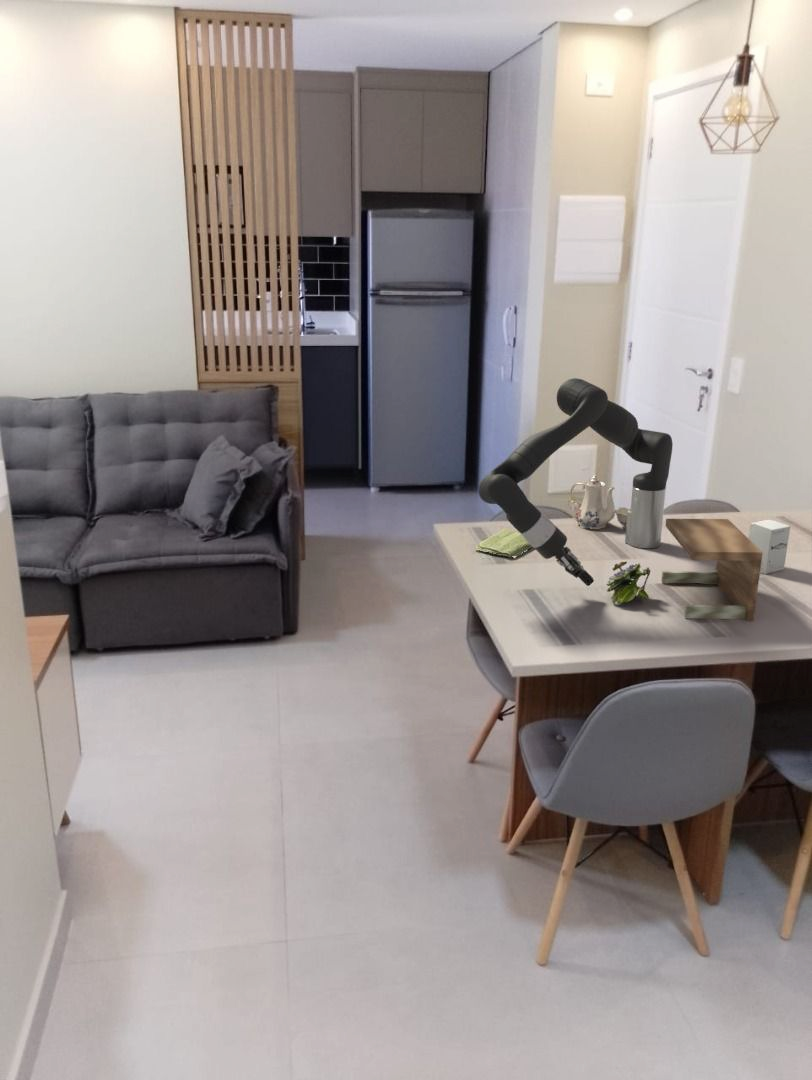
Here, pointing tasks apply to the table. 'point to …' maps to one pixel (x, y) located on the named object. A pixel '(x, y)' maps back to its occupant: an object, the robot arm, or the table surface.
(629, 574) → the passion flower
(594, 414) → the robot arm
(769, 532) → the supplement box
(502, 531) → the washcloth
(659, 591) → the table surface
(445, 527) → the table surface
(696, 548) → the shelf
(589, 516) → the chinaware
